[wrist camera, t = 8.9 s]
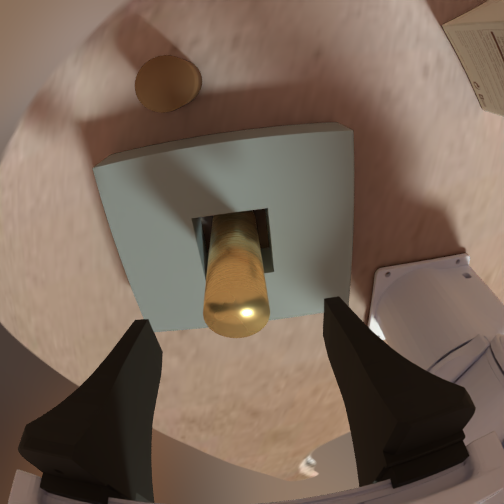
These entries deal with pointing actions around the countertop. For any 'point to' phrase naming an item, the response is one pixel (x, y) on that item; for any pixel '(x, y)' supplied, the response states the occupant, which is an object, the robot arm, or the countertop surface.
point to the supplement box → (482, 51)
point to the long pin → (235, 277)
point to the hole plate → (228, 201)
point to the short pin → (167, 83)
